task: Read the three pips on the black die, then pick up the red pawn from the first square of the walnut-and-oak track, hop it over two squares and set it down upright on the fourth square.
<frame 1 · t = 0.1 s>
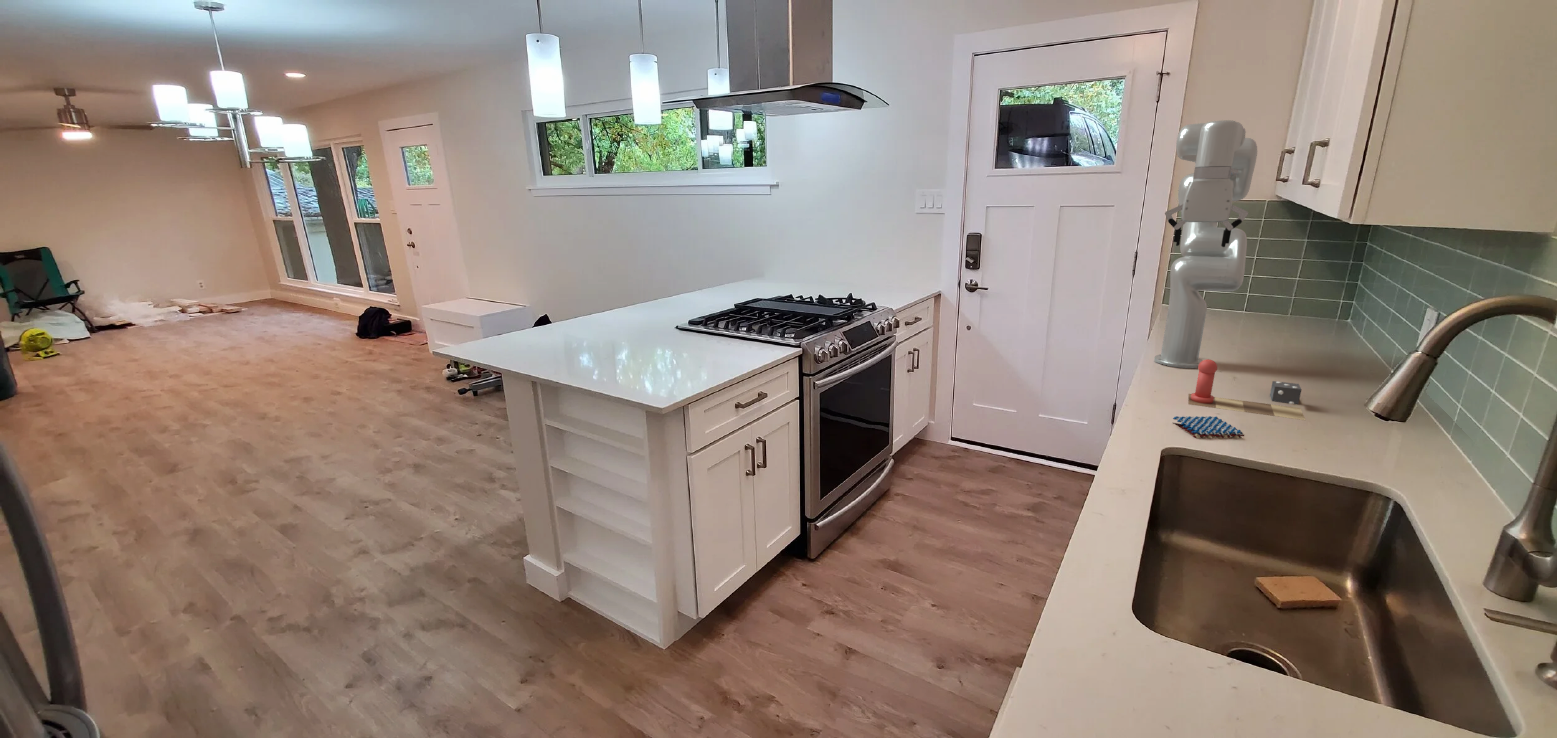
hand: (1200, 245, 159), 37 cm above the worktop, tool pointing down, fingers open, 9 cm apart
board: (1242, 410, 149), on the worktop
woven mat: (1205, 432, 139), on the worktop
die: (1282, 404, 153), on the worktop
pawn: (1201, 400, 153), point 1 cm above the worktop, touching board
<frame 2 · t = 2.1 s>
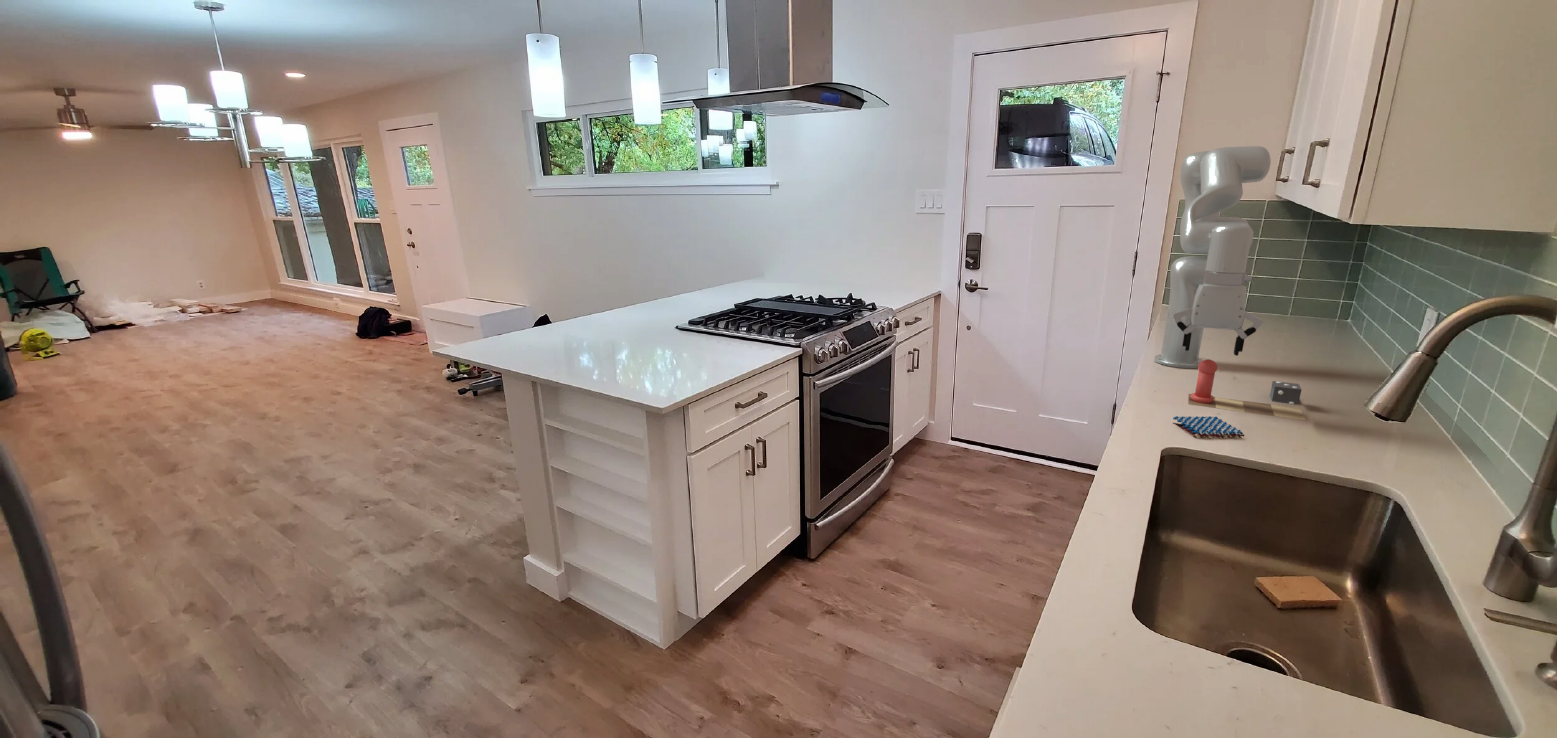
hand: (1211, 352, 149), 14 cm above the worktop, tool pointing down, fingers open, 9 cm apart
nothing on the worktop moved.
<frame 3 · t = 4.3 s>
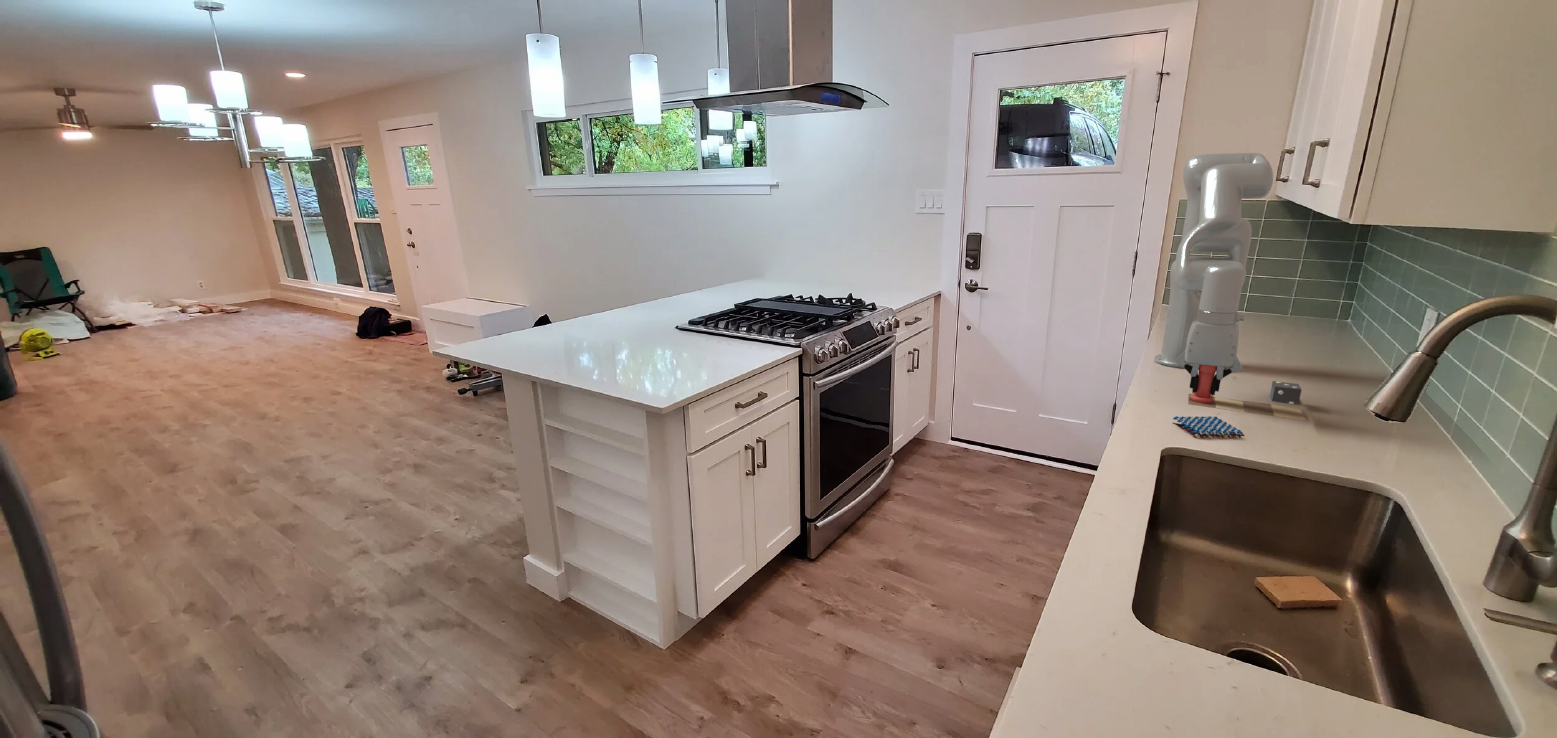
hand: (1203, 391, 152), 3 cm above the worktop, tool pointing down, fingers closed on pawn, 3 cm apart
pawn: (1201, 400, 153), point 1 cm above the worktop, touching board, gripper
everything else where it was.
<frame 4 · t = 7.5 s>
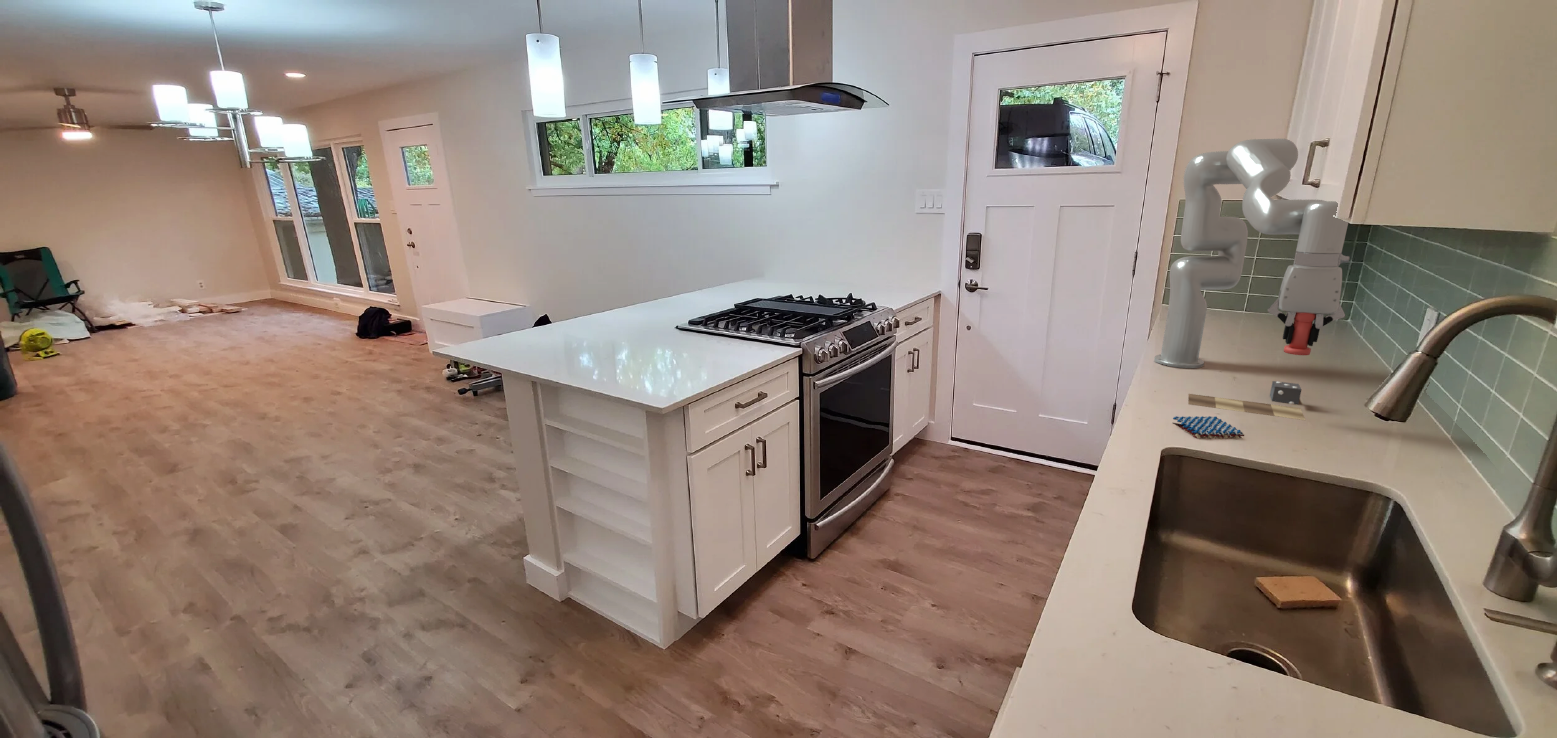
hand: (1298, 343, 140), 17 cm above the worktop, tool pointing down, fingers closed on pawn, 3 cm apart
pawn: (1296, 352, 141), point 15 cm above the worktop, touching gripper
everything else where it was.
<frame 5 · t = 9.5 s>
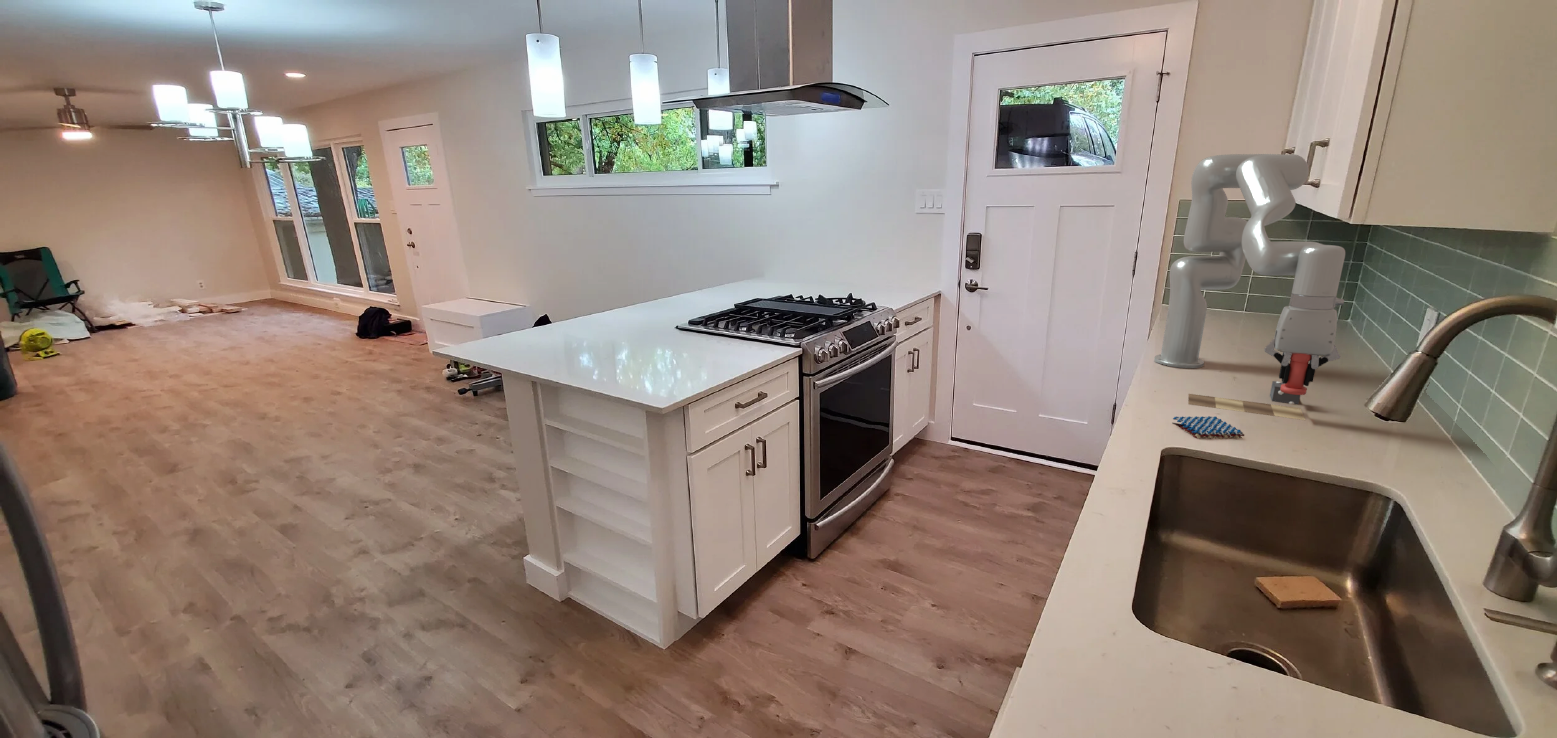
hand: (1294, 382, 142), 8 cm above the worktop, tool pointing down, fingers closed on pawn, 3 cm apart
pawn: (1292, 391, 143), point 6 cm above the worktop, touching gripper
everything else where it was.
when the fingers open (4 cm above the worktop, at t = 11.0 s): pawn stays where it is, resting on board.
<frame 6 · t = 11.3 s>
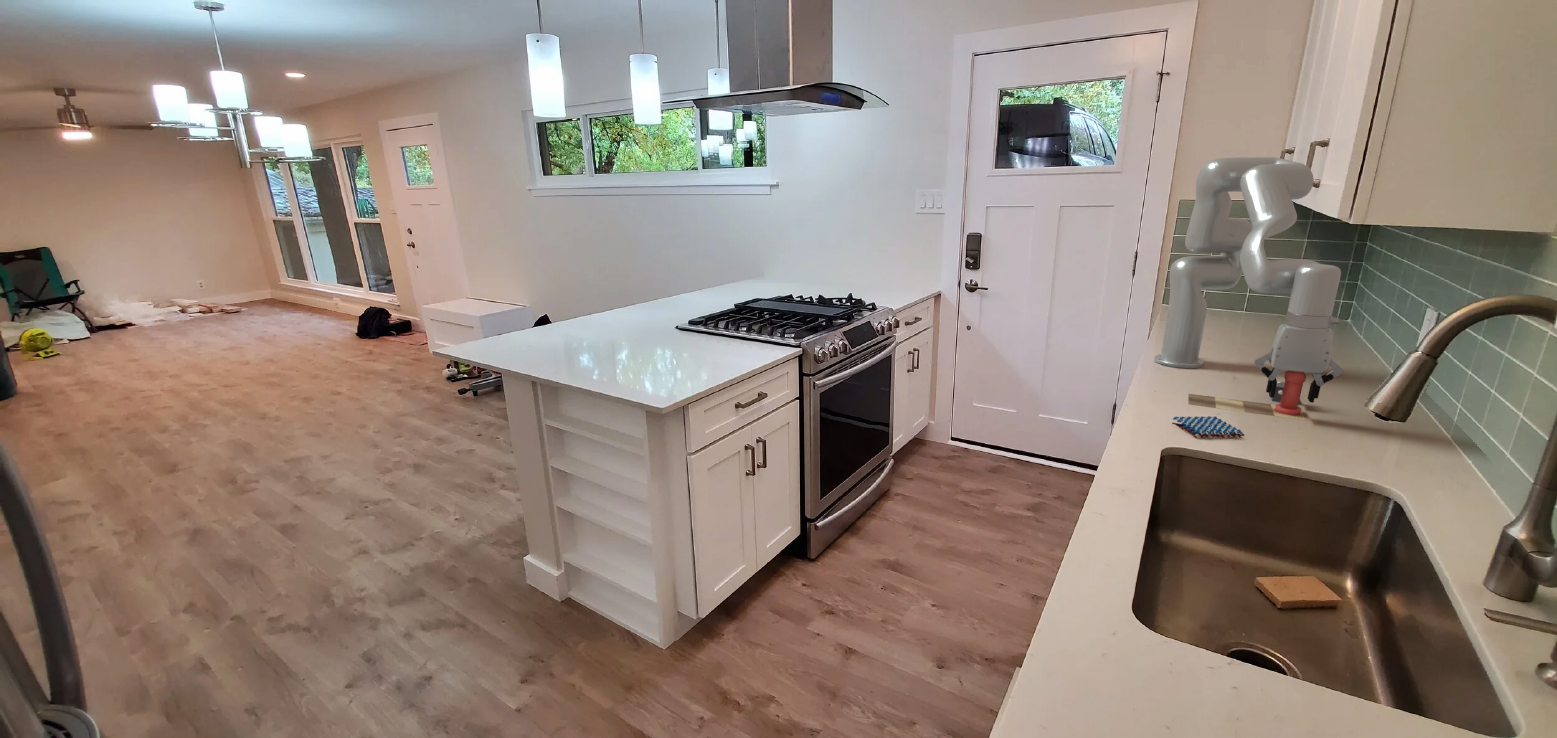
hand: (1290, 397, 143), 5 cm above the worktop, tool pointing down, fingers open, 6 cm apart
pawn: (1287, 411, 144), point 1 cm above the worktop, touching board
everything else where it was.
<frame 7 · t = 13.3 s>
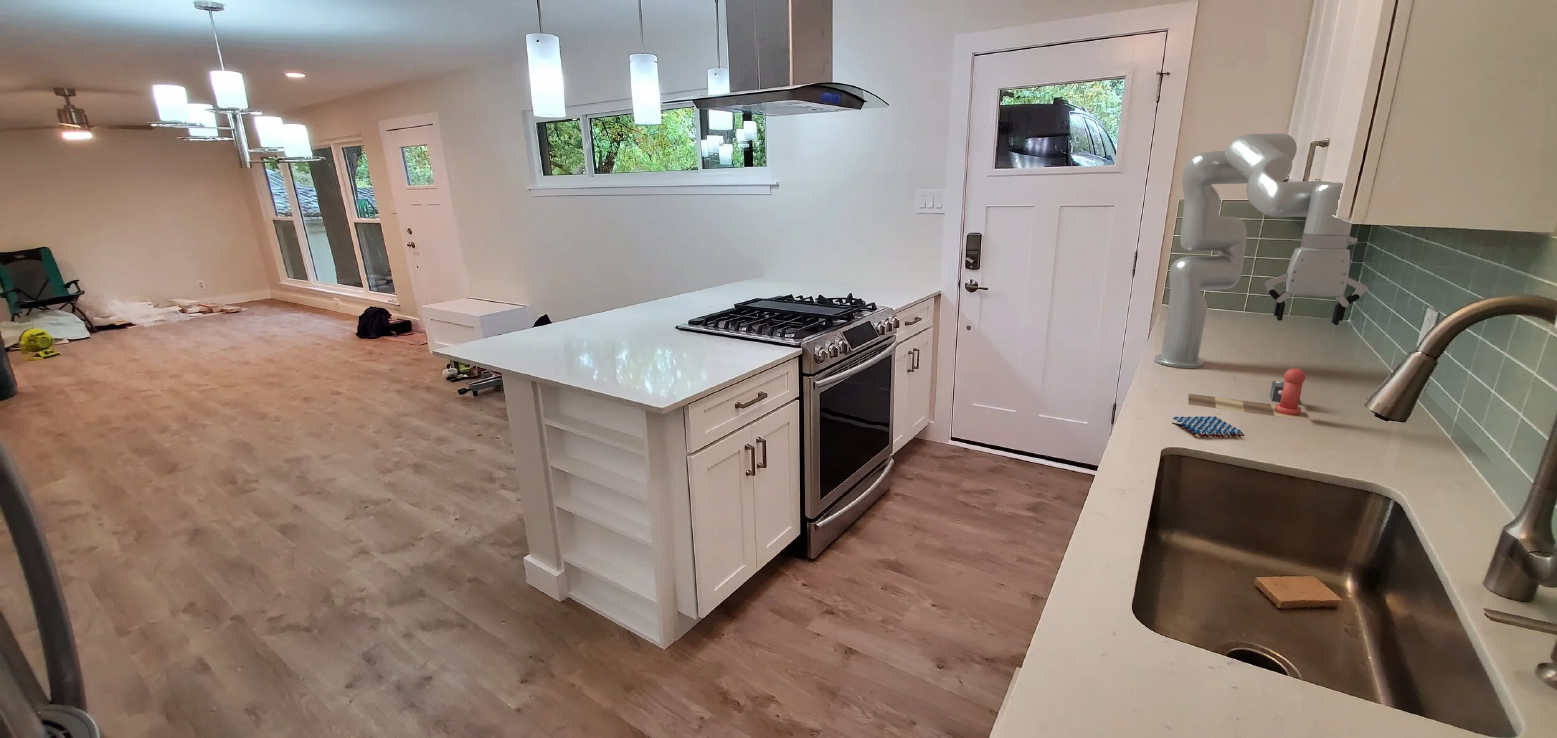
hand: (1306, 321, 139), 22 cm above the worktop, tool pointing down, fingers open, 9 cm apart
nothing on the worktop moved.
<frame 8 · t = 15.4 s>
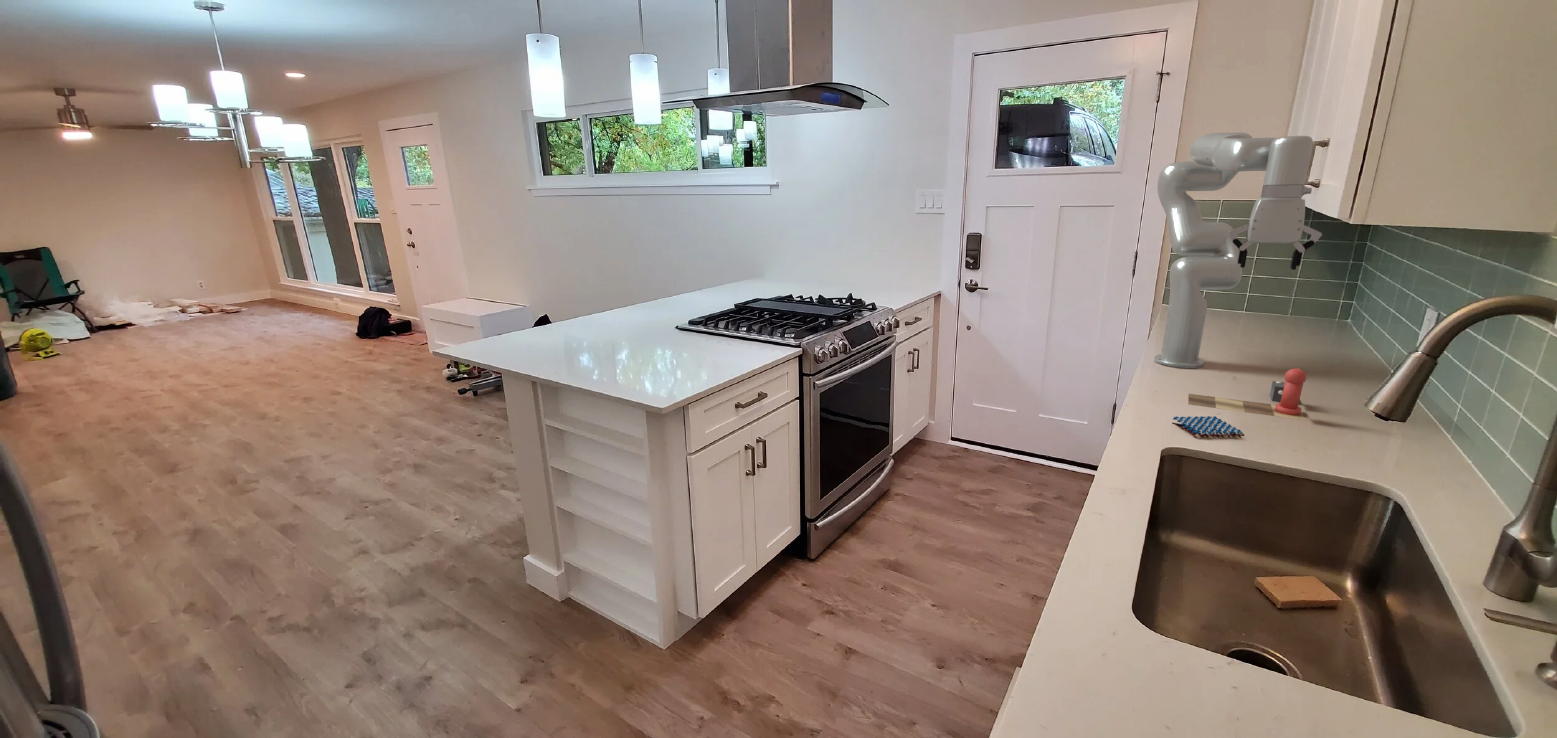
hand: (1267, 268, 149), 32 cm above the worktop, tool pointing down, fingers open, 9 cm apart
nothing on the worktop moved.
at the end: pawn 0.1 cm from the target spot on the board, point 1.2 cm above the board's base; pawn tilted 1°; the gripper is holding nothing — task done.
